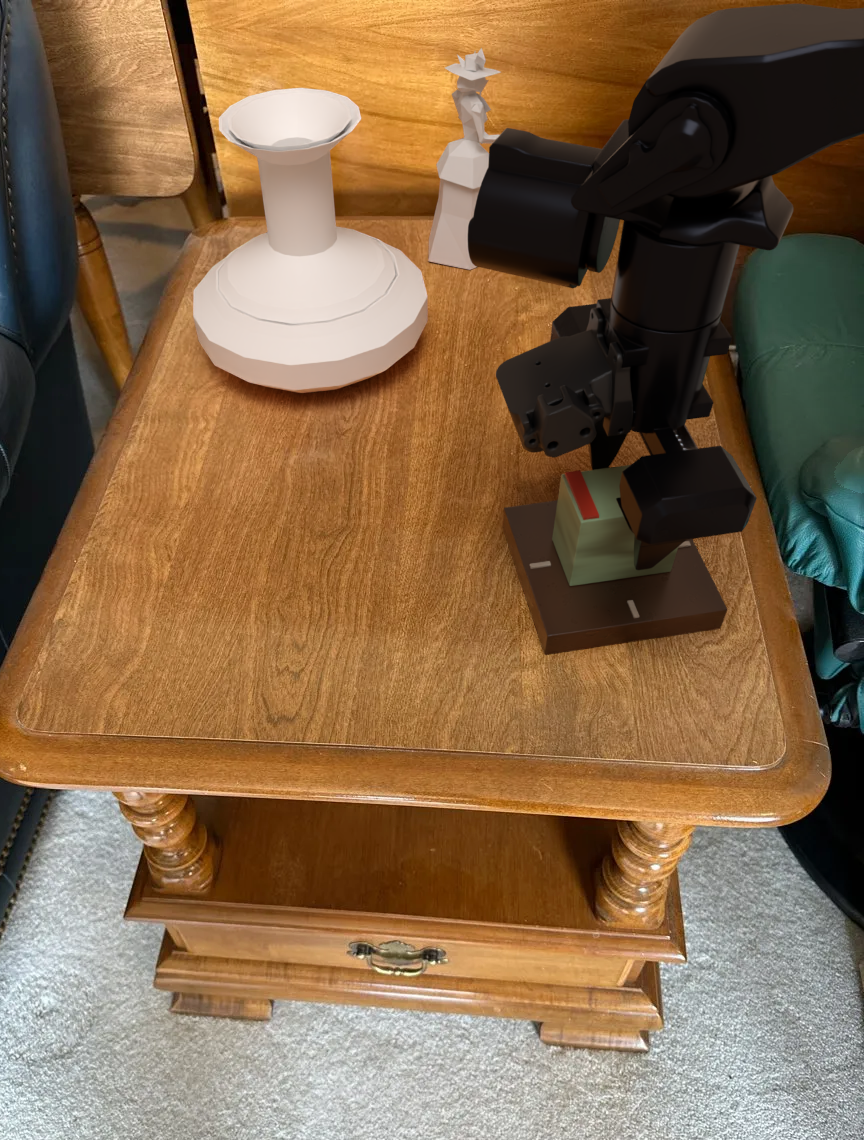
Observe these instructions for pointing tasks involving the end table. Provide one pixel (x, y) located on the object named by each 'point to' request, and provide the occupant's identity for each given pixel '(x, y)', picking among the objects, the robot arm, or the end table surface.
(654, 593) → the plate
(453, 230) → the figurine
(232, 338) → the white vase
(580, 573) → the box
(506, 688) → the end table surface
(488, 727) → the end table surface
